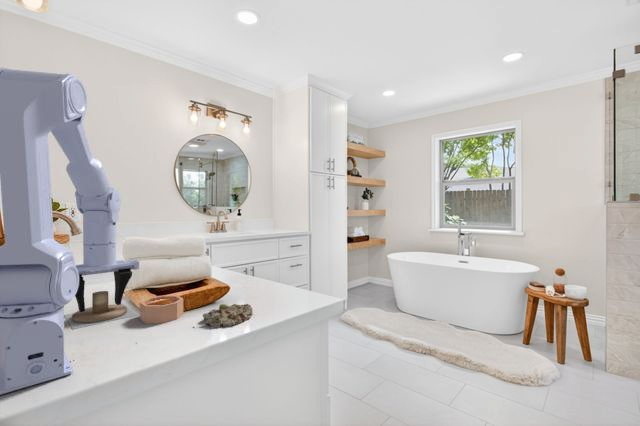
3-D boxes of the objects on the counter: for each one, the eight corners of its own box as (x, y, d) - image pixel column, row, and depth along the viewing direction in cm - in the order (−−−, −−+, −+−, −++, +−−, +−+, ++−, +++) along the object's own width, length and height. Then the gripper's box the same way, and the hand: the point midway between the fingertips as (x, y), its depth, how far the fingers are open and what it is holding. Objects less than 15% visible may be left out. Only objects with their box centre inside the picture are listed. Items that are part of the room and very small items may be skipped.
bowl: (187, 319, 67) (187, 300, 67) (149, 329, 62) (148, 308, 62) (173, 310, 73) (173, 293, 72) (136, 319, 67) (136, 300, 67)
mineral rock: (214, 321, 60) (199, 300, 66) (210, 341, 61) (196, 319, 67) (263, 311, 67) (246, 293, 73) (259, 329, 68) (243, 310, 74)
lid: (132, 315, 68) (132, 292, 68) (76, 327, 61) (76, 302, 61) (119, 305, 74) (119, 284, 74) (68, 314, 67) (68, 292, 67)
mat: (137, 317, 68) (137, 315, 68) (72, 331, 60) (72, 329, 60) (122, 306, 75) (122, 303, 75) (63, 317, 68) (63, 315, 68)
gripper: (132, 239, 75) (132, 296, 76) (53, 244, 65) (53, 310, 65) (142, 242, 70) (142, 302, 71) (58, 248, 60) (58, 319, 60)
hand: (100, 307), depth 68 cm, fingers open, 6 cm apart
